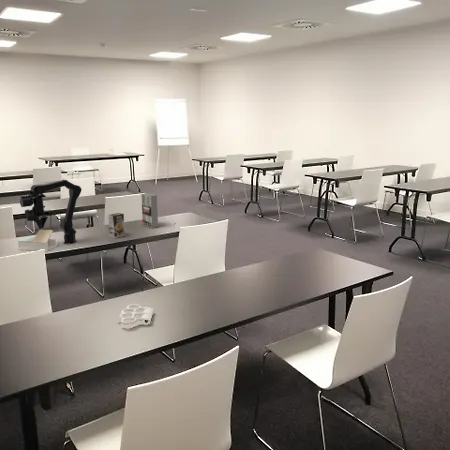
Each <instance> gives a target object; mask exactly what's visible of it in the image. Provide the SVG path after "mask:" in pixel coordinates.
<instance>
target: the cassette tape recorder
mask: <svg viewBox="0 0 450 450" xmlns="http://www.w3.org/2000/svg"><path fill="white" fill-rule="evenodd" d="M140 195H141V196H140V198H141V211H142V212H141V214H142V224H141V226H143V227H148V228H149V229H155V228H158V227H159V221H158V220H159V219H158V197H157V196H158V195H157V194H153V193H148V192H145V193H141V194H140Z"/></svg>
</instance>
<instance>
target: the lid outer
mask: <svg viewBox="0 0 450 450" xmlns="http://www.w3.org/2000/svg"><path fill="white" fill-rule="evenodd" d="M35 237H36V236H26V237H23V238H21V239H18V240H17V242H29V243H32V242H33V240H34V239H35Z"/></svg>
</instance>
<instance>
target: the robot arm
mask: <svg viewBox="0 0 450 450" xmlns="http://www.w3.org/2000/svg"><path fill="white" fill-rule="evenodd" d="M62 187H65V188H66V189H67V190H68V196H69V197H68V198H69V199H68V203H67V207H66V211H65V216H64V218H63V219H61V220H60V224H59V225H58V226H59V228H60V230H61V231H62V232H63V233H64V235H63V241H64V242H63V244H75V243H76V242H77V241H78V240H77V239H76V234H77V230H75V229H74V228H73V226H74V224H73V217H74V213H75V208H76V204H77V200H78V198H79V197H80V196H81V193H82V186H80V185H76V184H74V183H72V182H70V181H69V180H68V179H61V180H57V181H53V182H49V183H45V184H42V183H41V184H40V183H39V184H33V185H31V187H30V191H29V193H28V194H27V195H20V199H19V205H20V207H21V208H26V207H31V206H32V208H31V209H28V208H27V209H26V210H24V215H25V216H26V221H28V222H35V223H36V225H37V227H38V230H42V229H44V227H45V225H46V222H47V220H48V218H49V216H52V215H53V211H52V210H50V209H49V210H48V209H47V210H45V207H46V206H45V205H44V198H46V197H47V195H45V193H46V192H47V191H50V190H51V191H52V190H55V189H58V188H62Z"/></svg>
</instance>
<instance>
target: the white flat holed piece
mask: <svg viewBox="0 0 450 450" xmlns="http://www.w3.org/2000/svg"><path fill="white" fill-rule="evenodd" d="M130 307H138V308H134V309H133V308H130ZM138 310H144V311H143V312H136V311H138ZM153 310H154V311H155V309H154V308H153V307H149V306H141V305H140V304H138V303H131V304H127V306H126V308H124V309H122V310H121V311H120V313H121V314H119V318H120V319H121V323H122V324H124V325H129V324H134V323H136V322H137V321H142V320H146V321H148V320H149V321H151V318H152V315H153V316H154V313H153ZM125 311H134V312H131V313H126V312H125ZM126 315H131V317H126V318H124V317H123V316H126ZM136 315H138V316H139V315H140V316H141V315H142V317H141V318H135V316H136ZM129 319H130V320H134V321H131V322H124V321H125V320H129ZM152 319H153V318H152ZM151 322H152V321H151Z"/></svg>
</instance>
